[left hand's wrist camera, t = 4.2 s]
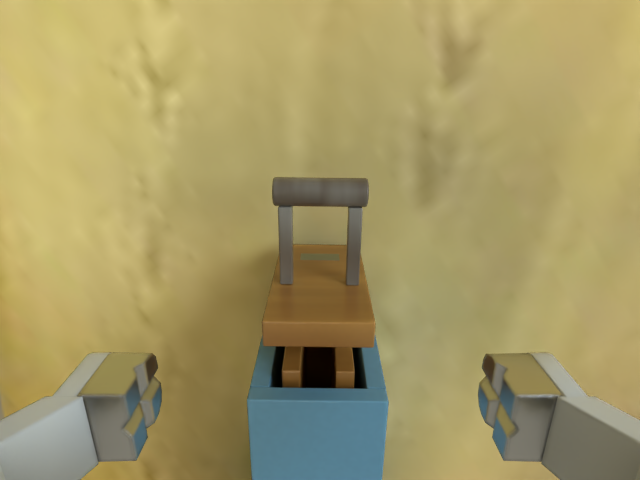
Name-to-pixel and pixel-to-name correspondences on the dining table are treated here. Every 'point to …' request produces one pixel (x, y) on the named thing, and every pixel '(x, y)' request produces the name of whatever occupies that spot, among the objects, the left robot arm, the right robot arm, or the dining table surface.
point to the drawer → (319, 288)
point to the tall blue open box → (317, 423)
